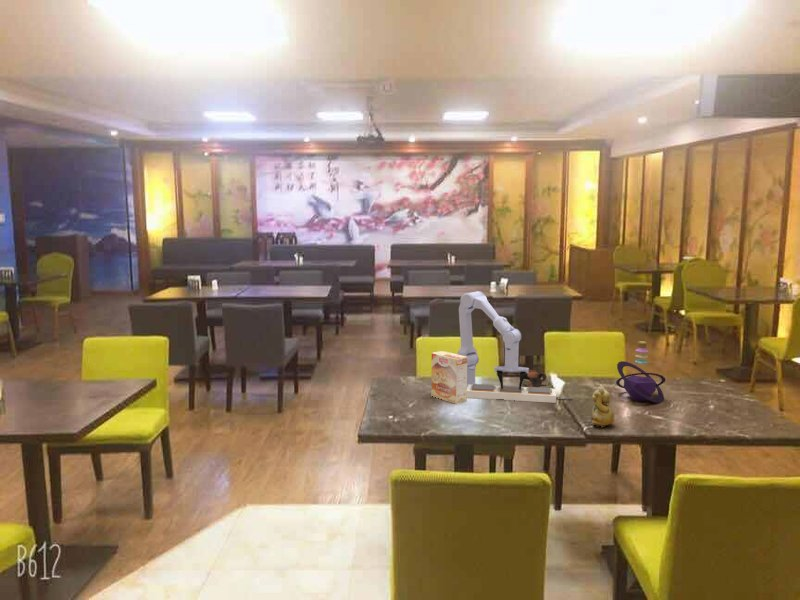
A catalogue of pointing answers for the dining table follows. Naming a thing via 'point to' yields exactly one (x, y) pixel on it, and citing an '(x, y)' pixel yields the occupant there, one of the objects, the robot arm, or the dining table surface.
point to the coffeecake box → (449, 377)
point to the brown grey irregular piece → (535, 378)
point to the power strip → (513, 395)
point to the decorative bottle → (640, 379)
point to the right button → (539, 390)
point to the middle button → (511, 389)
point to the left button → (483, 387)
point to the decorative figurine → (602, 408)
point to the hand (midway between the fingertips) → (511, 388)
